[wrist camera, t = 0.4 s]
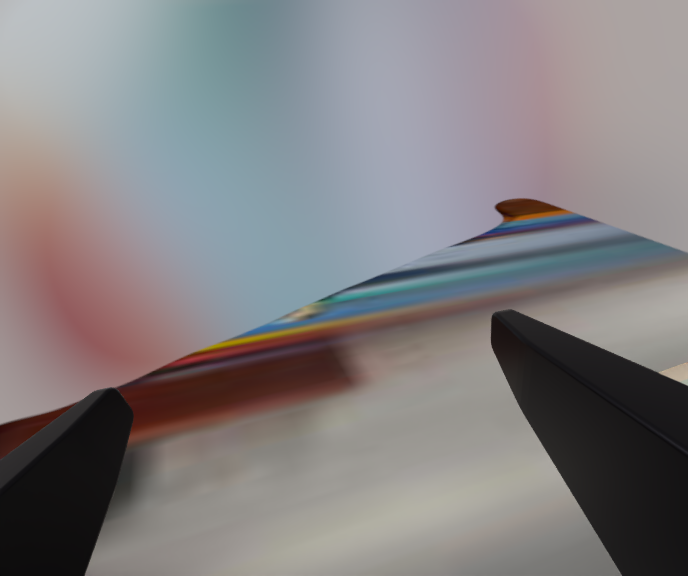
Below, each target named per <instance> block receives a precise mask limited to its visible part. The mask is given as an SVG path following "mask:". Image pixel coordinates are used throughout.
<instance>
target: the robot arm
mask: <svg viewBox="0 0 688 576" xmlns="http://www.w3.org/2000/svg"><path fill="white" fill-rule="evenodd" d="M491 345H492V348H493V351H494V353H495V355H496V358H497V360H498V362H499V364H500V366H501V368H502V370H503V373H504V375H505V377H506V379H507V381H508V383H509V386H510V388H511V390H512V392H513V394H514V396H515V398H516V400H517V402H518V404H519V406H520V408H521V410H522V412H523V414H524V415H525V417H526V419H527V420H528V422H529V424H530V425H531V427H532V429H533V430H534V432H535V433H536V435H537V437H538V438H539V440H540V442H541V443H542V445H543V447H544V448H545V450H546V452H547V453H548V455H549V456H550V458H551V460H552V461H553V463H554V465H555V466H556V468H557V470H558V471H559V473H560V474H561V476H562V478H563V479H564V481H565V483H566V484H567V486H568V488H569V489H570V491H571V492H572V494H573V496H574V497H575V499H576V501H577V502H578V504H579V506H580V507H581V509H582V510H583V512H584V514H585V515H586V517H587V519H588V520H589V522H590V524H591V525H592V527H593V529H594V530H595V532H596V533H597V535H598V537H599V538H600V540H601V542H602V543H603V545H604V547H605V548H606V550H607V551H608V553H609V555H610V556H611V558H612V560H613V561H614V563H615V565H616V566H617V568H618V569H619V571H620V573H621V574H622V576H688V385H686V384H683V383H681V382H679V381H676V380H674V379H672V378H669V377H667V376H665V375H662V374H660V373H658V372H655V371H653V370H651V369H649V368H646V367H644V366H642V365H639V364H637V363H635V362H632V361H630V360H628V359H625V358H623V357H621V356H618V355H616V354H614V353H612V352H609V351H607V350H605V349H602V348H600V347H598V346H595V345H593V344H591V343H588V342H586V341H584V340H581V339H579V338H577V337H575V336H572V335H570V334H568V333H565V332H563V331H561V330H558V329H556V328H554V327H551V326H549V325H547V324H544V323H542V322H540V321H538V320H535V319H533V318H531V317H528V316H526V315H524V314H521V313H519V312H517V311H514V310H511V309H509V310H503V311H498V312H495V313H494V314H493V315H492V319H491ZM133 417H134V416H133V411H132V409H131V407H130V406H129V405H128V403H127V402H126V400H125V399H124V398H123V396H122V395H121V393H120V392H119V391H118V390H117V389H115V388H112V387H110V388H105V389H100V390H97V391H94V392H92V393H91V394H89V395H88V396H87V397H85V398H84V399H83V400H81V401H80V402H79V403H77V404H76V405H74V406H73V407H72V408H70V409H69V410H68V411H66V412H65V413H64V414H62V415H61V416H59V417H58V418H57V419H55V420H54V421H53V422H51V423H50V424H49V425H47V426H46V427H44V428H43V429H42V430H40V431H39V432H38V433H36V434H35V435H33V436H32V437H31V438H29V439H28V440H27V441H25V442H24V443H23V444H21V445H20V446H18V447H17V448H16V449H14V450H13V451H12V452H10V453H9V454H8V455H6V456H5V457H3V458H2V459H1V460H0V576H85V573H86V570H87V567H88V564H89V562H90V559H91V556H92V553H93V550H94V548H95V545H96V542H97V539H98V536H99V534H100V531H101V528H102V525H103V522H104V519H105V517H106V514H107V511H108V508H109V505H110V503H111V500H112V497H113V494H114V491H115V488H116V485H117V482H118V478H119V475H120V471H121V467H122V463H123V459H124V455H125V451H126V447H127V443H128V439H129V435H130V431H131V427H132V423H133Z"/></svg>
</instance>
